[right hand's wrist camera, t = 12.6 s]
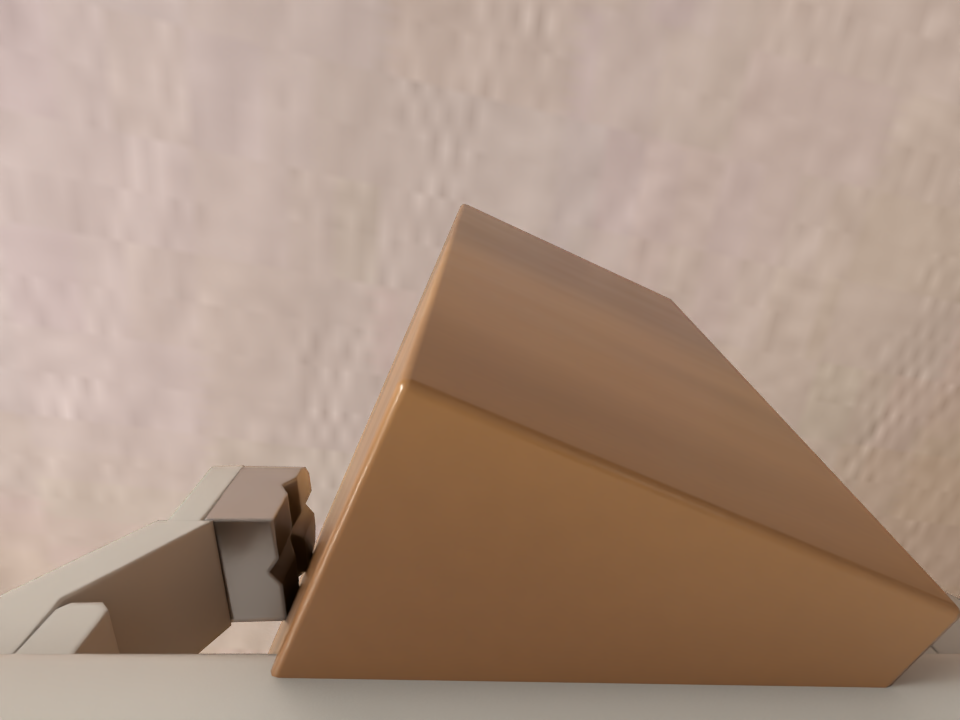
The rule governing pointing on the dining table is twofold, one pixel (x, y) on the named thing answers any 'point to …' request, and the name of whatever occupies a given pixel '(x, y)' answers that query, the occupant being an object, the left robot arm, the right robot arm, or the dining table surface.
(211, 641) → the right robot arm
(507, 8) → the dining table surface
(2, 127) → the dining table surface
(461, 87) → the dining table surface
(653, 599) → the bar
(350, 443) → the dining table surface
